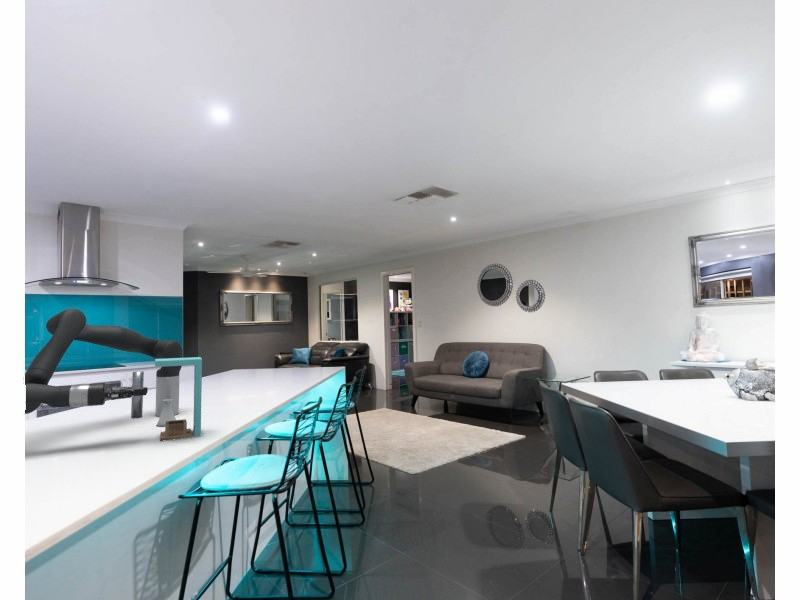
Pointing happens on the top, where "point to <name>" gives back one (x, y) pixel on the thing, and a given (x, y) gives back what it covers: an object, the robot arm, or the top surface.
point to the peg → (137, 400)
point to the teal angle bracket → (197, 384)
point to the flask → (166, 413)
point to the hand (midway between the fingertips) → (146, 391)
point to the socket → (175, 430)
